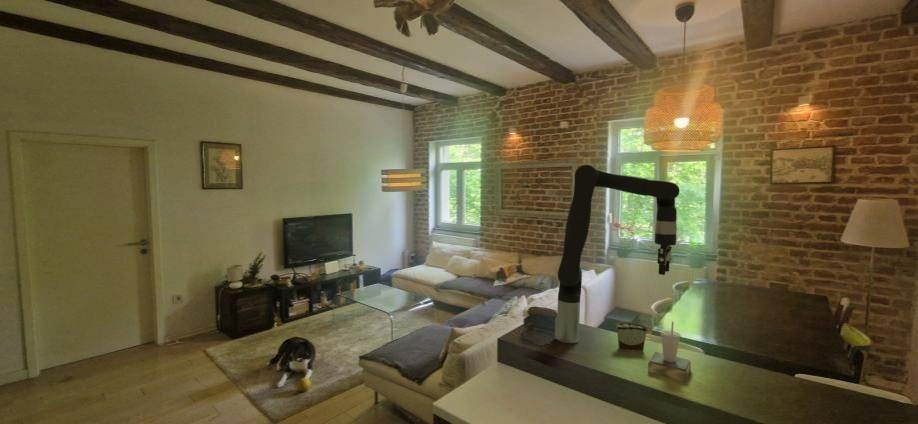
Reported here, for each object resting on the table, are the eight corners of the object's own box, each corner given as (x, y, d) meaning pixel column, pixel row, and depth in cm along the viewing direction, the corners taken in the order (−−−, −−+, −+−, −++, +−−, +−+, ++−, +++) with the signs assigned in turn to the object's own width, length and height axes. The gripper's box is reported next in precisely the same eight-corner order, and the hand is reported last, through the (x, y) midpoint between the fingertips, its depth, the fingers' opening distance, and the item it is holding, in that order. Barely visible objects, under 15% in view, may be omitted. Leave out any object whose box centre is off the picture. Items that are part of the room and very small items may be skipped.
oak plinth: (647, 371, 138) (648, 360, 138) (653, 361, 147) (654, 351, 147) (686, 382, 131) (687, 370, 131) (690, 370, 140) (691, 359, 140)
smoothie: (672, 365, 135) (673, 325, 134) (655, 358, 140) (657, 319, 140) (683, 362, 138) (685, 322, 137) (666, 355, 143) (668, 317, 143)
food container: (641, 345, 163) (642, 322, 162) (647, 351, 157) (648, 327, 156) (611, 344, 164) (612, 320, 164) (615, 349, 158) (616, 325, 158)
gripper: (658, 230, 163) (657, 269, 163) (651, 232, 151) (649, 274, 152) (679, 232, 158) (677, 271, 159) (673, 234, 147) (671, 277, 147)
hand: (663, 272), depth 155 cm, fingers open, 8 cm apart
